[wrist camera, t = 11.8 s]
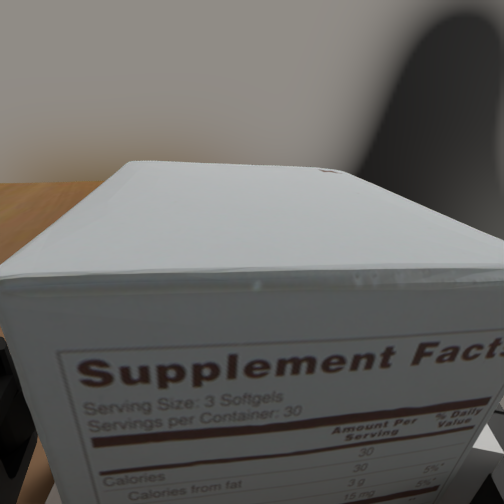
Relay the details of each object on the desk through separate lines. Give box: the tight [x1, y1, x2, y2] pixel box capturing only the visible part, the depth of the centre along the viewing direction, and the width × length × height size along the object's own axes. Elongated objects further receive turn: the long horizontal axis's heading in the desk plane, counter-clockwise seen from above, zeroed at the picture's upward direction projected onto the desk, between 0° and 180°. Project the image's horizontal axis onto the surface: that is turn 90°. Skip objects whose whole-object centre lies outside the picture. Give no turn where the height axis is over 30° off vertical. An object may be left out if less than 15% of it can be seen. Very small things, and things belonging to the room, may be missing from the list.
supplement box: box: [0, 161, 504, 504], centre depth 9 cm, size 7×7×13 cm
